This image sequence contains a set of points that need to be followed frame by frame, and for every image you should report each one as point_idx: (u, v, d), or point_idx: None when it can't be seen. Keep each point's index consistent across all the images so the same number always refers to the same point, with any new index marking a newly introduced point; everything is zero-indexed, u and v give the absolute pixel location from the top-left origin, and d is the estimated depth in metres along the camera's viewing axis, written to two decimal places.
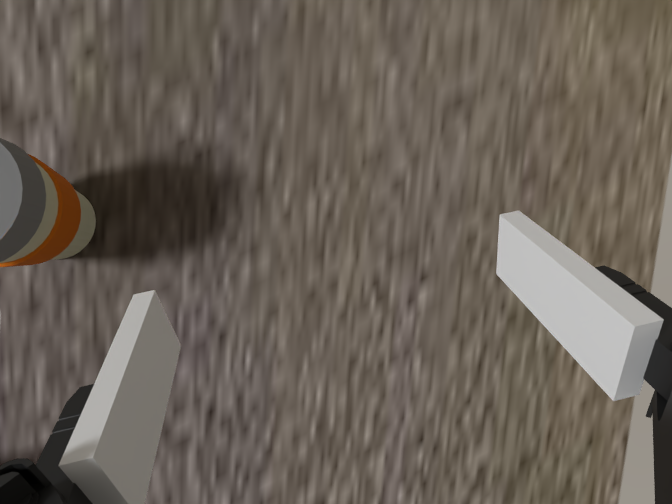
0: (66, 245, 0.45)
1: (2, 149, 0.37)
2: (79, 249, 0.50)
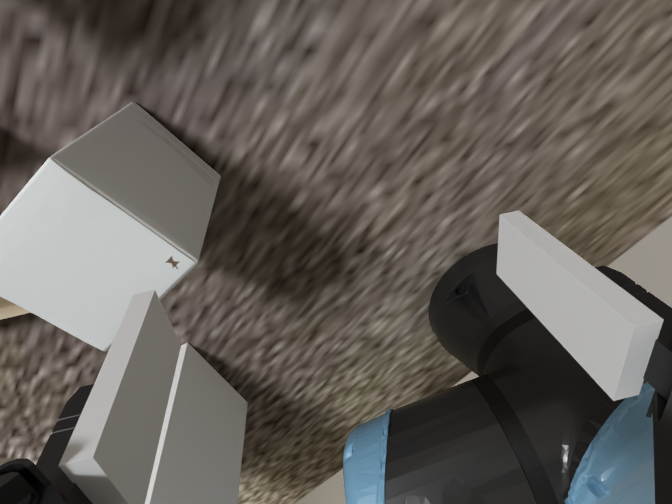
0: None
1: None
2: None
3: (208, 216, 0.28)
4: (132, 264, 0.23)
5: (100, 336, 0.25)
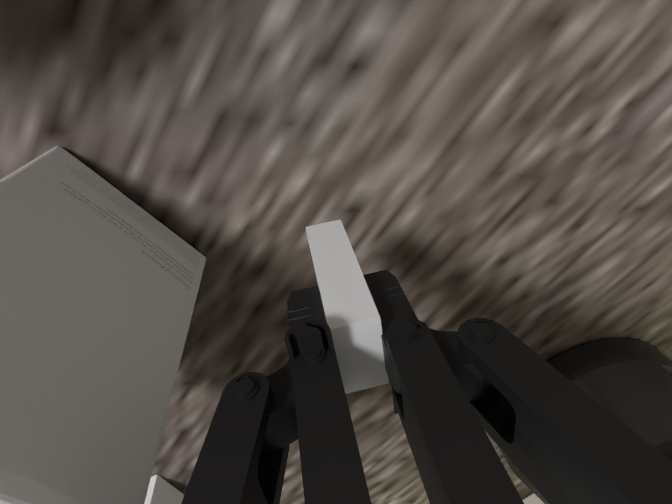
0: None
1: None
2: None
3: (174, 370, 0.15)
4: None
5: None
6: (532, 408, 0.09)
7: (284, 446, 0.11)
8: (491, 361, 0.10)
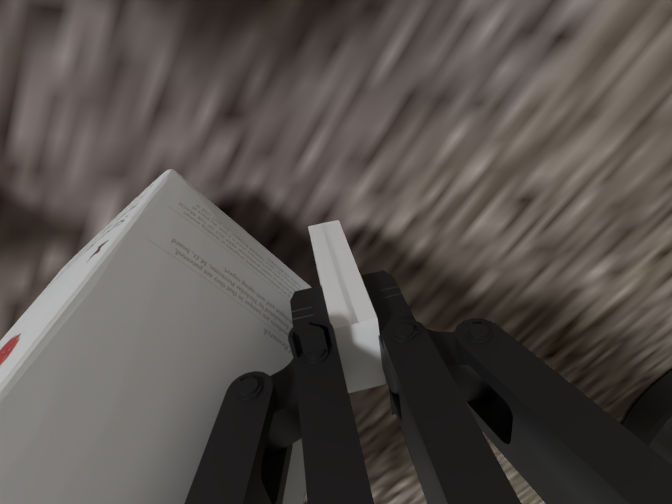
0: None
1: None
2: None
3: None
4: None
5: None
6: (529, 409, 0.09)
7: (287, 445, 0.11)
8: (488, 362, 0.10)
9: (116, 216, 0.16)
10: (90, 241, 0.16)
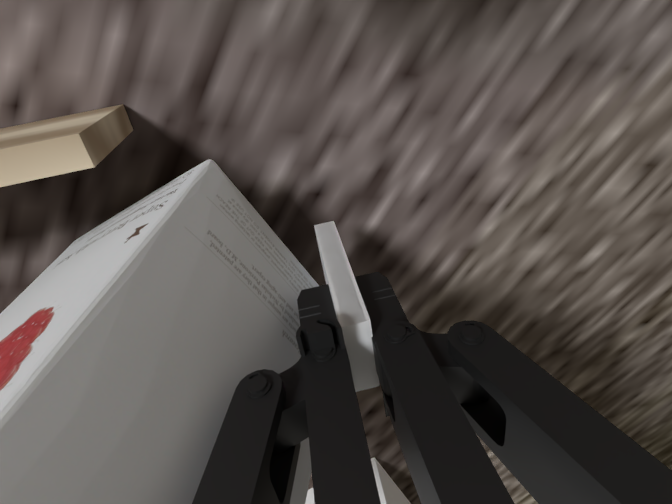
0: None
1: None
2: None
3: None
4: None
5: None
6: (522, 411, 0.09)
7: (296, 443, 0.11)
8: (481, 364, 0.10)
9: (144, 197, 0.16)
10: (112, 218, 0.16)
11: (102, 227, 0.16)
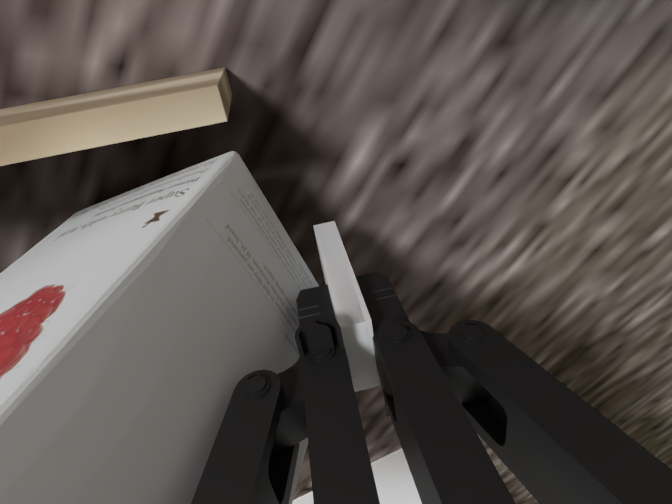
0: None
1: None
2: None
3: None
4: None
5: None
6: (523, 410, 0.09)
7: (295, 443, 0.11)
8: (482, 364, 0.10)
9: (159, 179, 0.15)
10: (122, 195, 0.16)
11: (110, 204, 0.15)
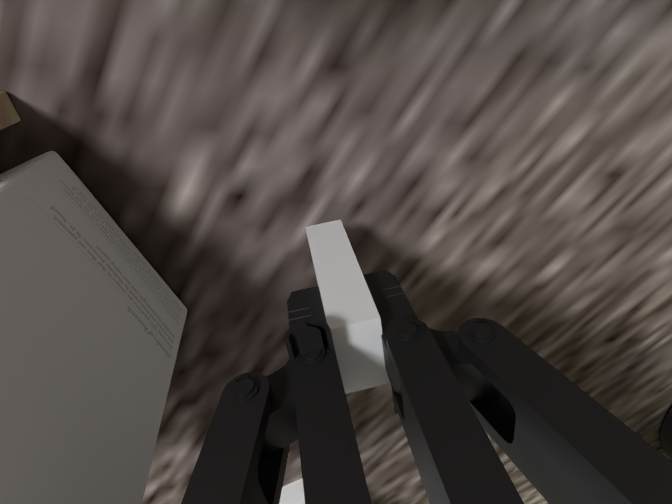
0: None
1: None
2: None
3: (143, 485, 0.12)
4: None
5: None
6: (532, 408, 0.09)
7: (284, 446, 0.11)
8: (491, 361, 0.10)
9: None
10: None
11: None
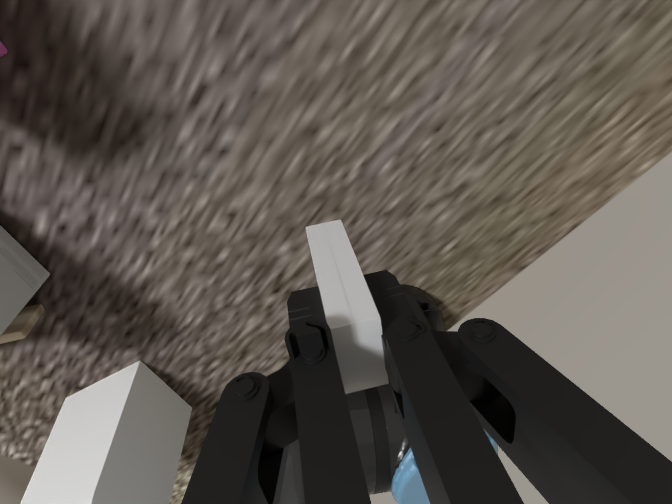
0: None
1: None
2: None
3: (10, 321, 0.40)
4: None
5: None
6: (532, 408, 0.09)
7: (284, 446, 0.11)
8: (491, 361, 0.10)
9: None
10: None
11: None
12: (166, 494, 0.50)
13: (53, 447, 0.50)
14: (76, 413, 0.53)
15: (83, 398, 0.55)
